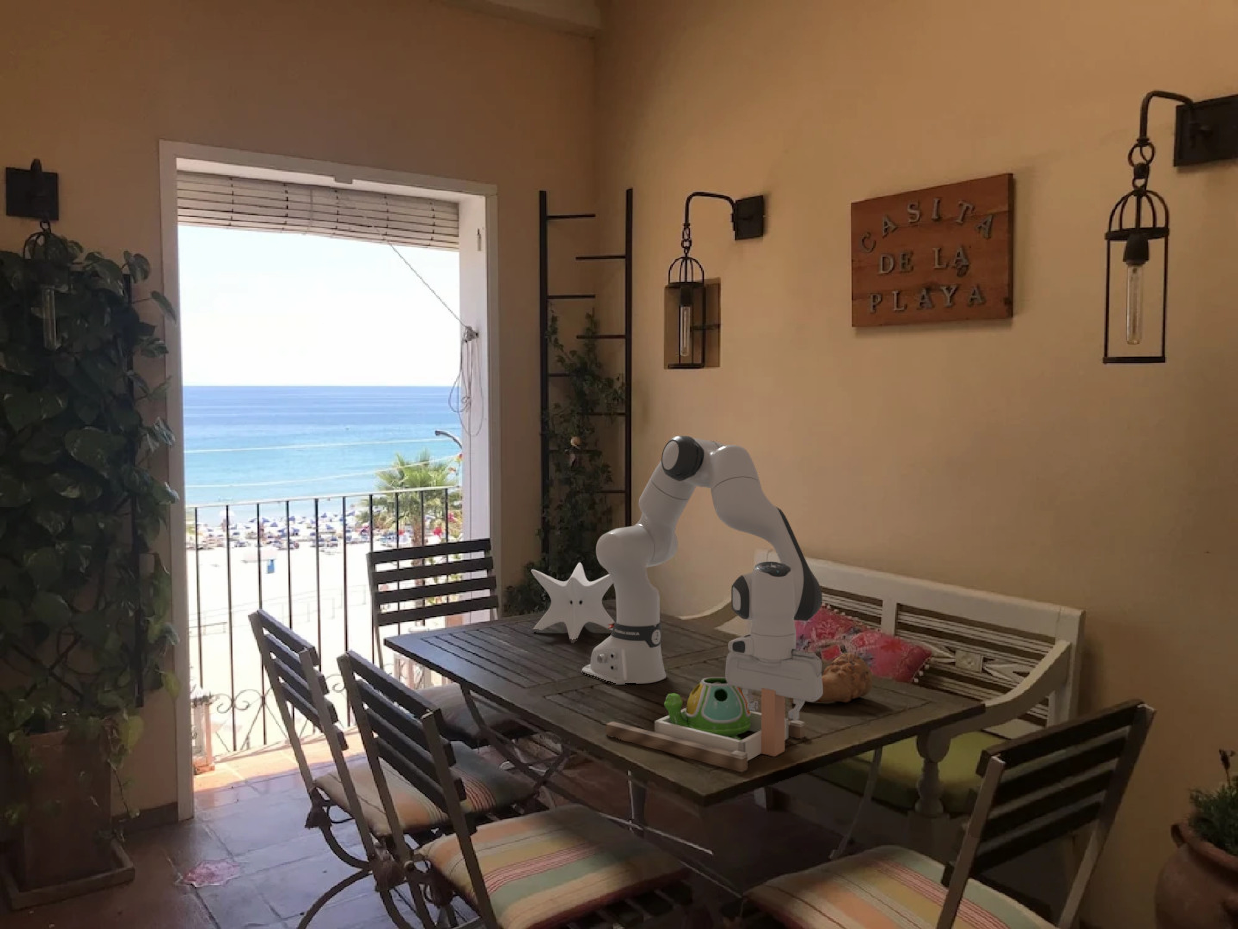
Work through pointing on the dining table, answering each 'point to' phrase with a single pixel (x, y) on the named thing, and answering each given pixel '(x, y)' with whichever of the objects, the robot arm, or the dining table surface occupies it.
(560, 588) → the starfish
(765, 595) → the robot arm
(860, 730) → the dining table surface
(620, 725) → the bay rails
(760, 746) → the sled
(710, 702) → the turtle holder
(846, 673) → the clay pipe
